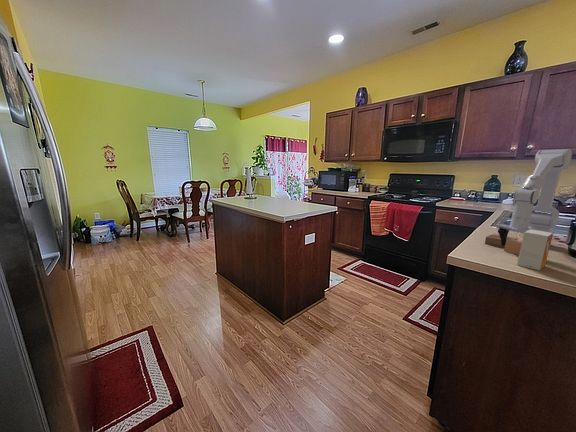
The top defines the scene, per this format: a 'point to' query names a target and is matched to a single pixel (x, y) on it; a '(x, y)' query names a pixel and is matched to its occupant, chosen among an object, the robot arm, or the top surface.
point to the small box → (534, 249)
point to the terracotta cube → (513, 246)
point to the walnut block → (496, 240)
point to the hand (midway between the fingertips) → (514, 248)
